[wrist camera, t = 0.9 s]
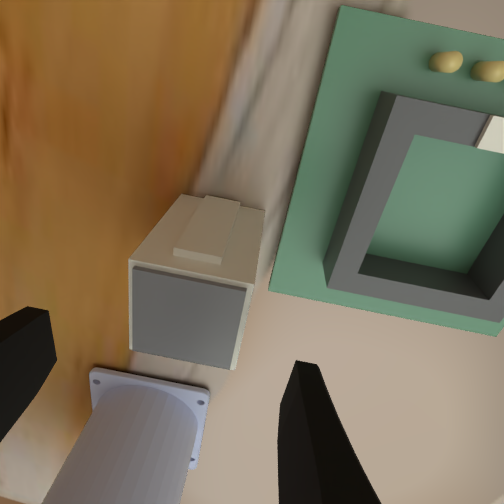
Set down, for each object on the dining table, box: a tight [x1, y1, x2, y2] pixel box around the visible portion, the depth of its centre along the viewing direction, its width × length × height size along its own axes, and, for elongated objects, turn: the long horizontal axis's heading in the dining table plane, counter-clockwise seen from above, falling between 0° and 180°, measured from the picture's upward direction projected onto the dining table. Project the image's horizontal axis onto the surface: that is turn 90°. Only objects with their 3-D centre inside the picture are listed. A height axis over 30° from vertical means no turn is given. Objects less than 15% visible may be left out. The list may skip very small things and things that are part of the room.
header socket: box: [268, 5, 504, 337], centre depth 13 cm, size 12×12×3 cm
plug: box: [128, 194, 265, 370], centre depth 14 cm, size 4×4×6 cm
